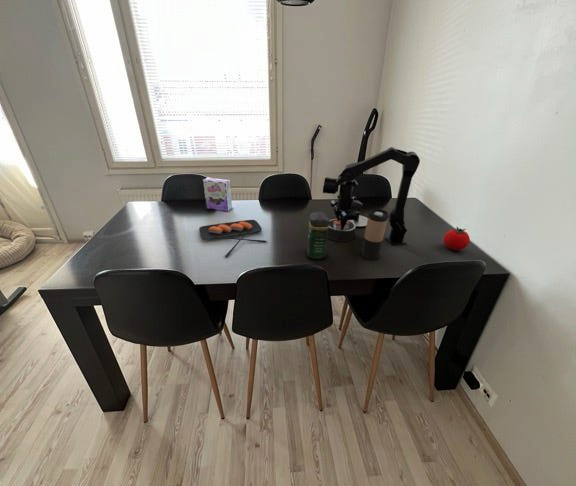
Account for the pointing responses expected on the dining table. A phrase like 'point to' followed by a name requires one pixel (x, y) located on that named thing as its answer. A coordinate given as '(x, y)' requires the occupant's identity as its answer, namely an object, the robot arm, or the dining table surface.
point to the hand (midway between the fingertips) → (341, 226)
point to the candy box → (217, 194)
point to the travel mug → (374, 233)
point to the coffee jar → (317, 235)
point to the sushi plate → (230, 230)
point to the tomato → (456, 239)
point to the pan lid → (360, 220)
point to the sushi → (338, 225)
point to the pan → (341, 232)
